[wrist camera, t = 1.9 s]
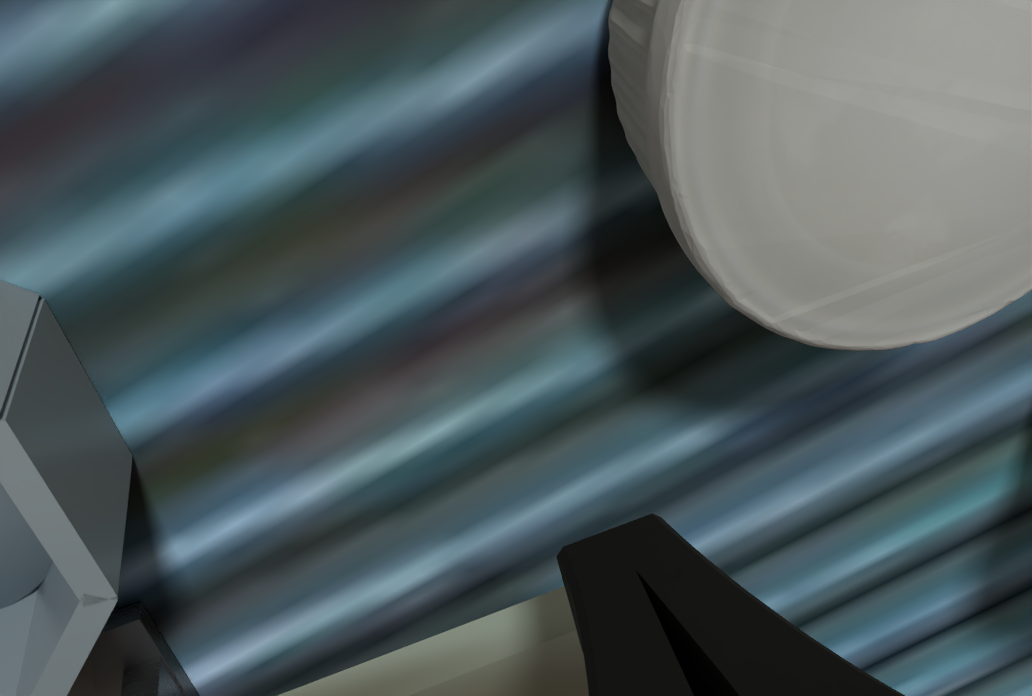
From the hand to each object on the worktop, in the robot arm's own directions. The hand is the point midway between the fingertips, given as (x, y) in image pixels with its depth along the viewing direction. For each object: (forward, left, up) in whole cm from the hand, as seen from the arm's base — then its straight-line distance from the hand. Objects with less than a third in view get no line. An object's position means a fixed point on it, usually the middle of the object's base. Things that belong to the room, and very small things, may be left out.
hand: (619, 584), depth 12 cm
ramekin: (+3, -9, -11) cm, 14 cm away
